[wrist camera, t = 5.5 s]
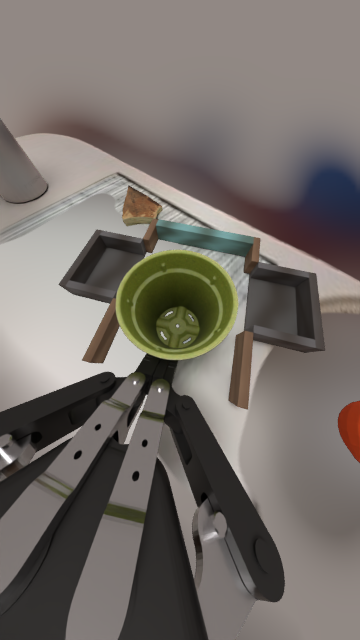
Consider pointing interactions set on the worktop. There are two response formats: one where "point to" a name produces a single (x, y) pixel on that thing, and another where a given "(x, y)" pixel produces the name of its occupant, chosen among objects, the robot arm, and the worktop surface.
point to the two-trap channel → (262, 302)
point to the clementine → (351, 428)
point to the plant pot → (176, 304)
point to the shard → (139, 208)
